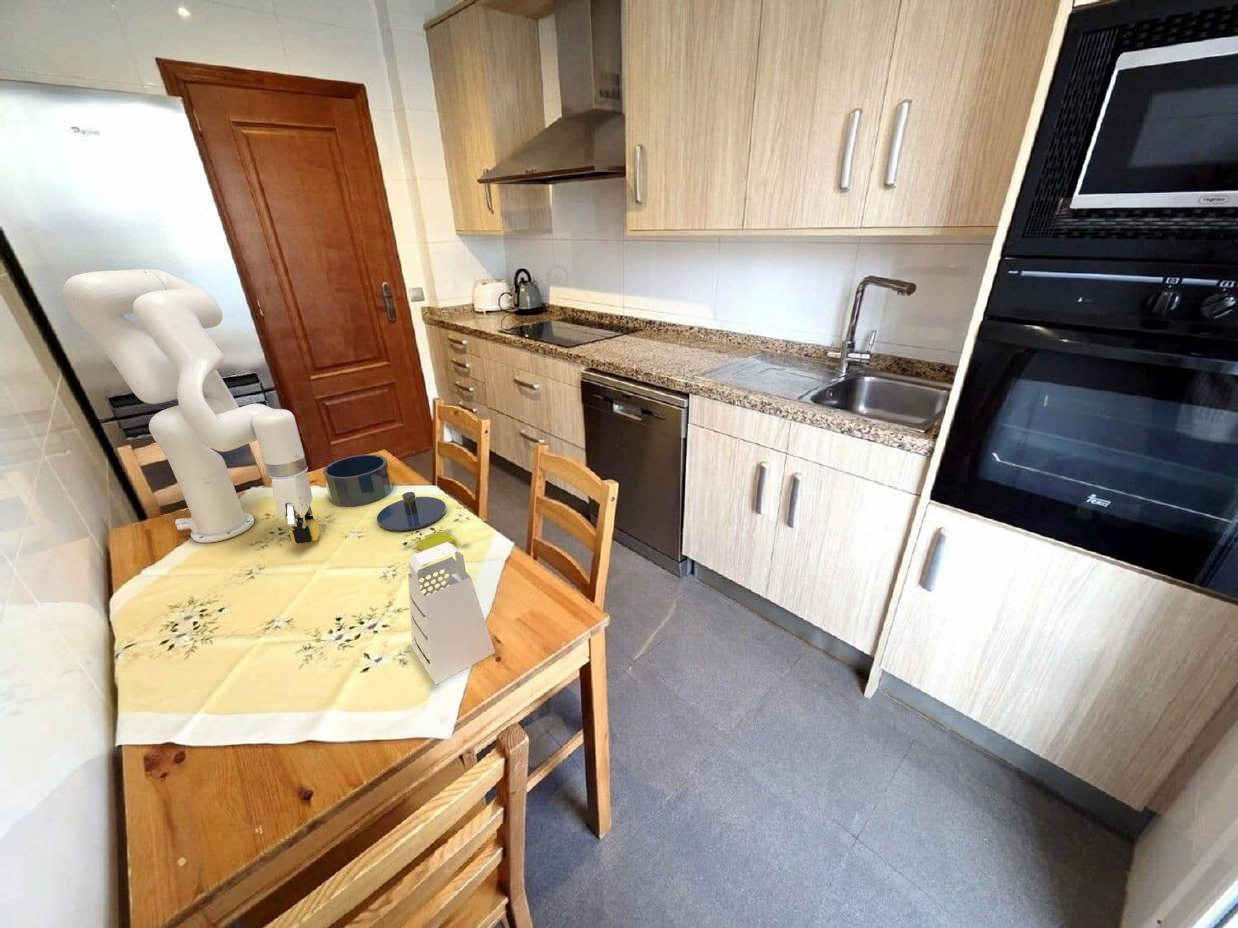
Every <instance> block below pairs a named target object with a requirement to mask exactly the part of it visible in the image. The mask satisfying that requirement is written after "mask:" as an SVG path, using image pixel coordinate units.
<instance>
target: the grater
mask: <svg viewBox="0 0 1238 928" xmlns="http://www.w3.org/2000/svg"><path fill="white" fill-rule="evenodd" d="M452 554H454V556H455V558H454V557H453V556H450V555H452ZM447 556H450V557H447ZM444 557H447V558H445V559H443V560H439V559H441V558H444ZM437 560H439V561H438V562H435V563H433V564H430V565H428V566H425V567H423V568H422V566H423V565H426V564H429V563H431V562H434V561H437ZM408 567H409V571H410V572H409V573H408V574H407V579H408V594H409V595H408V596H409V597H408V598H409V612H410V614H409V615H410V631H411V633H410V634H411V648H412V650H413V651H414V653H415V655H416V656H417V658H418V660H419V661H420V662H421V664H422V666H423V667H424V669H425V670H426V672H427V674H428V675H429V677H430V678H431V680H432V681H433V683H434V685H435V686H436V685H439V684H440V683H442V682H444V681H447V680H448V679H450V678H451V677H453V676H455V675H457V674H459V673H461V672H463V671H464V670H466V669H468V668H470V667H472V666H474V665H475V664H477V663H479V662H481V661H483V660H485V659H487V658H489V657H490V656H492V655H494V654H496V650H495V647H494V644H493V641H492V637H491V634H490V631H489V628H488V625H487V623H486V619H485V616H484V613H483V610H482V608H481V607H482V606H481V604H480V601H479V597H478V594H477V591H476V588H475V585H474V583H473V582H474V581H473V578H472V576H471V575H469V573H468V572H467V570H466V566H465V557H464V553H462V552H461V551H460V550H459V549H458V548H457V546H454V545H452V544H451V543H449V542H446V543H443V544H440V545H438V546H435V547H432V548H430V549H427V550H424V551H422V552H421V551H419V552H417V553H414V554H412V556H411V557H410V559H409V560H408ZM442 570H443V573H441V571H442ZM435 573H437V575H435V576H434V574H435ZM446 575H448V576H447V577H445V576H446ZM428 576H430V578H429V579H427V577H428ZM441 577H442V579H441V580H439V578H441ZM421 579H423V580H422V581H420V580H421ZM433 580H435V582H434V583H432V581H433ZM443 582H445V583H444V584H442V583H443ZM426 583H428V585H427V586H425V584H426ZM436 585H439V586H438V587H436ZM430 587H431V588H432V589H431V590H429V588H430ZM423 590H426V591H425V592H424V593H423V592H422V591H423ZM427 660H429V661H427Z"/></svg>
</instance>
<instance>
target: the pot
mask: <svg viewBox="0 0 1238 928" xmlns="http://www.w3.org/2000/svg"><path fill="white" fill-rule="evenodd" d="M389 468H390V467H389V465H388V461H387V458H385V456H382V455H379V454H359V455H351V456H348V457H343V458H341V459H338V460H336V461H333V462H331V463H330V464H328V465H326V466H325V467H324V468H323V471H322V475H323V478H324V482H325V486H326V488H327V493H328V496H329V500H331V503H332V504H334V505H335V506H338V507H345V508H347V507H348V508H350V507H351V508H352V507H361V506H365V505H369V504H372V503H376V502H379V501H380V500H382V499H384V498H386V497H387V496H388V495H390V493H391V492H392V491H393V483H392V478H391V474H390V469H389Z"/></svg>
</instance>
